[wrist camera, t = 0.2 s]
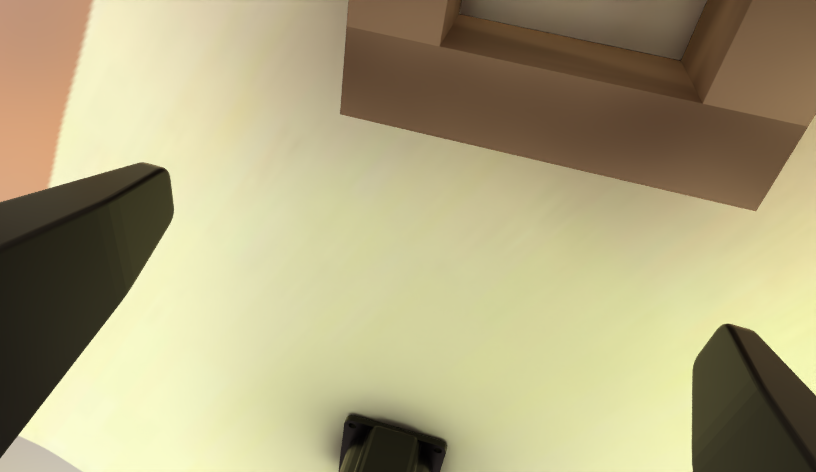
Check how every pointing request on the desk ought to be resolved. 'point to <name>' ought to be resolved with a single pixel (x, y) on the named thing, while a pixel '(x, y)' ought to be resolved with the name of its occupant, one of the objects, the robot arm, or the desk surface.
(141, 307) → the desk surface
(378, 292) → the desk surface
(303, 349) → the desk surface
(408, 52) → the frame
